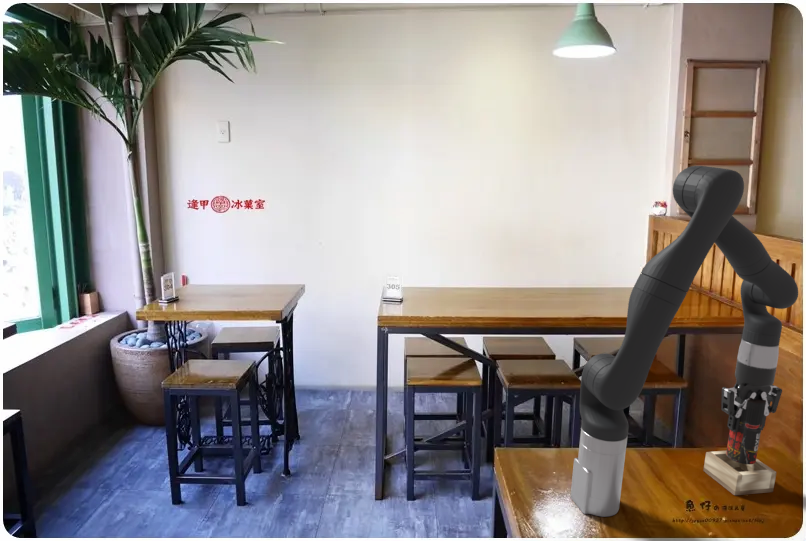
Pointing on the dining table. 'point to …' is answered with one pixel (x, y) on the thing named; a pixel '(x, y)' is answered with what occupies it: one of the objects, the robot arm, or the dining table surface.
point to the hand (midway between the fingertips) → (745, 429)
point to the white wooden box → (739, 474)
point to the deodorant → (747, 433)
